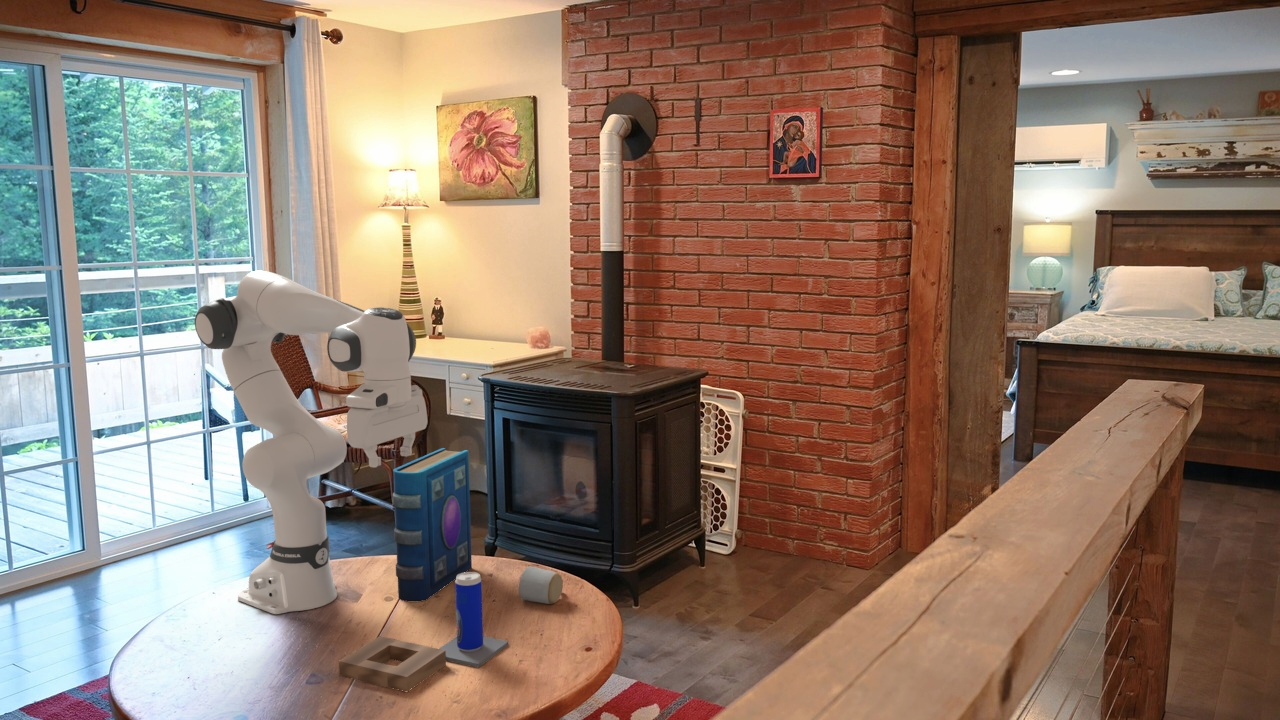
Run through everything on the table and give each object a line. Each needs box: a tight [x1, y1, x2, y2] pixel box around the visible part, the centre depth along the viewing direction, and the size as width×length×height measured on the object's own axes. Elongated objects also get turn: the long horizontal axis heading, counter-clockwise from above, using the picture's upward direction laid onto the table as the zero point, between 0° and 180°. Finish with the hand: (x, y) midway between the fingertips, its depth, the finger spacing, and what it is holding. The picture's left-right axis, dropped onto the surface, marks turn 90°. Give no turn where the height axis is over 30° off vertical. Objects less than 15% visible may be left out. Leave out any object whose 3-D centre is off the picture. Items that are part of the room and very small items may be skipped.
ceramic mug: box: [518, 565, 564, 605], centre depth 219 cm, size 11×8×8 cm
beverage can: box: [454, 571, 484, 652], centre depth 192 cm, size 5×5×15 cm
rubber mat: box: [438, 635, 510, 669], centre depth 193 cm, size 11×11×1 cm
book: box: [392, 447, 473, 602], centre depth 226 cm, size 24×9×30 cm, turn 161°
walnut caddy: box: [338, 635, 447, 692], centre depth 184 cm, size 16×12×3 cm
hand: (391, 460), depth 188 cm, fingers open, 8 cm apart
